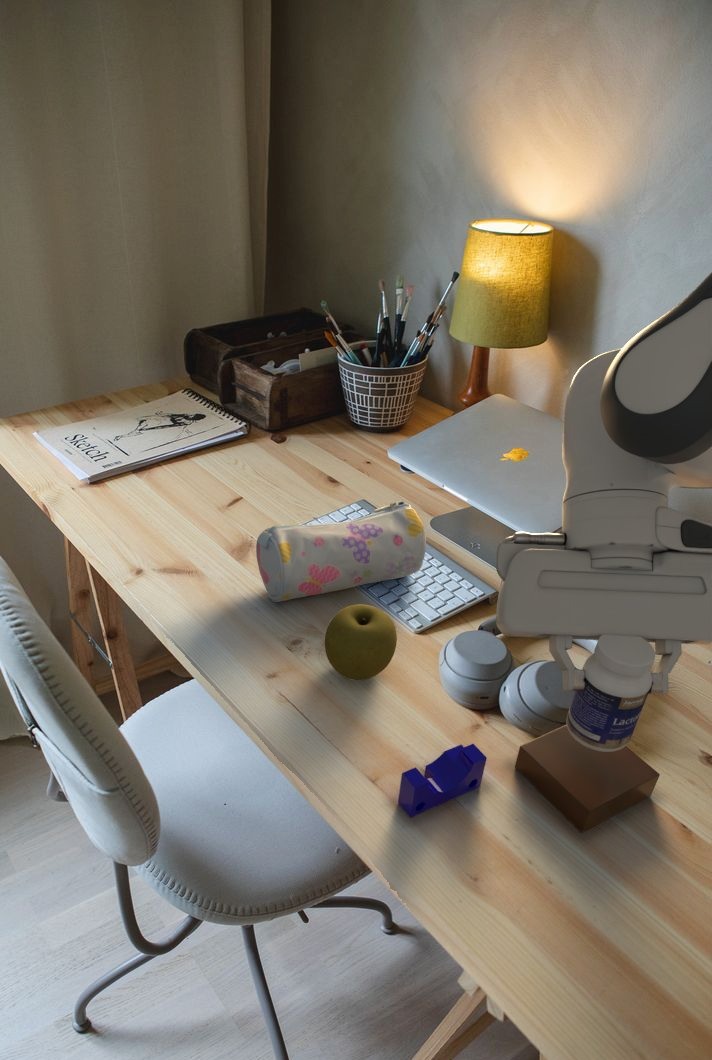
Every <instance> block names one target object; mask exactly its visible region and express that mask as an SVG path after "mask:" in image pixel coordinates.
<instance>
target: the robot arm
mask: <svg viewBox="0 0 712 1060" xmlns="http://www.w3.org/2000/svg"><path fill="white" fill-rule="evenodd" d="M562 426H563V427H562V447H561V449H562V453H561V454H562V455H561V457H562V465H563V467H564V470H565V474H566V485H565V490H564V494H563V498H562V502H561V511H562V512H561V532H557V533H555V532H542V533H541V532H540V533H530V532H527V531H516V532H514V533H513V534H512V535H511V536H507V537H506V538H504V539H502V540H501V541H500V543H498V546H497V547H496V552H495V569H496V573H497V575H498V577H499V578H500V583H499V589H498V594H497V602H496V611H495V612H496V613H495V625H496V627H497V629H498V630H499V632H500V633H501V634H502V635H503V636H505V637H520V638H542V639H548V651H549V653H550V655H551V657H552V658H553V660H554V662H555V663H556V665H557V667H558V668H559V670H560V671H561V687H562V688H561V689H562V691H570V692H575V691H584V689H585V682H584V678H585V670H582V669H577V668H576V666H575V664H574V662H573V660H572V658H571V657H570V655H569V653H568V650H571V649H572V648H573V640H588V641H598V639H599V638H600V636H601V635H603V634H606V635H620V636H637V637H642V638H643V639H645V640H646V641H647V642H649V643H654V645H655V646H654V650H655V656H660V659H659V661H658V662H657V664H656V666H655V668H654V669H653V672H651V675H652V684H651V688H650V691H649V693H648V695H657V696H659V695H661V696H663V695H667V694H668V693H669V674H671V672H672V670H673V669H674V668H675V665H676V664H677V662H678V661H679V659H680V658H681V656H682V654H683V651H682V649H683V648H682V645H705V646H712V523H710V522H707V521H705V520H701V519H698V518H696V517H693V516H690V515H689V514H688V515H687V514H685V513H683V512H680V511H677V510H676V509H673V508H672V507H671V508H670V507H669V494H670V492H671V490H673V489H675V488H681V489H699V490H700V489H712V271H711V272H710V273H709V274H708V276H706V277H705V278H704V279H703V281H701V282H700V284H698V286H696V287H695V289H693V290H692V291H691V293H689V294H688V295H687V296H686V297H685V298H683V300H682V301H680V302H679V303H678V304H676V305H675V306H674V307H673V308H671V309H670V310H669V311H667V312H665V314H663V315H662V316H660V317H659V318H657V319H655V320H654V321H653V322H652V323H650V324H648V325H647V326H646V327H645V328H643V329H642V330H640V331H639V332H638V333H637V334H636V335H634V336H633V337H632V338H631V339H629V341H628V342H627V343H626V344H625V345H624V346H623V347H622V348H617V349H613V350H609V351H606V352H604V353H601V354H599V355H597V356H595V357H594V358H592V359H590V360H588V361H587V362H585V363H584V364H583V365H582V366H581V367H579V369H577V371H576V373H575V374H574V375H573V378H572V380H571V382H570V384H569V387H568V390H567V395H566V398H565V405H564V412H563V424H562ZM509 542H510V543H509ZM511 542H512V543H511Z"/></svg>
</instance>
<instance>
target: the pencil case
mask: <svg viewBox="0 0 712 1060" xmlns="http://www.w3.org/2000/svg"><path fill="white" fill-rule="evenodd" d="M426 537H427V536H426V532H425V527H424V525H423V522H422V520H421V518H420V516H419V515H418V514H417V512H416V510H415V509H414V508H413V507H411V504H410V503H406V502H404V501H402V500H399V501H393V502H391V503H390V504H388V505H385V506H382V507H381V506H380V507H378V508H375V509H374V510H373V512H372V513H371V514H368V515H364V516H362V517H359V518H355V519H351V520H345V521H335V522H322V523H313V524H289V525H287V524H286V525H273V526H271V527H268V528H266V529H264V530H263V531H262V532H261V533H260V534H259V535H258V537H257V538H256V539H257V540H256V545H255V552H256V553H255V554H256V562H257V566H258V570H259V574H260V578H261V580H262V583H263V586H264V588H265V590H266V593H267V595H268V598H270V599H271V601H272V602H275V603H278V602H279V603H280V602H286V601H289V600H293V599H299V598H304V597H308V596H309V597H310V596H317V595H320V594H326V593H332V592H337V591H341V590H347V589H351V588H355V587H359V586H362V585H367V584H374V583H380V582H384V581H389V580H394V579H401V578H406V577H408V576H411V575H414V574H416V573H418V572H419V571H420V570H421V568H422V567H423V564H424V560H425V557H426V551H427V538H426ZM413 573H414V574H413ZM407 575H408V576H407ZM402 576H403V577H402ZM392 578H393V579H392Z"/></svg>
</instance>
